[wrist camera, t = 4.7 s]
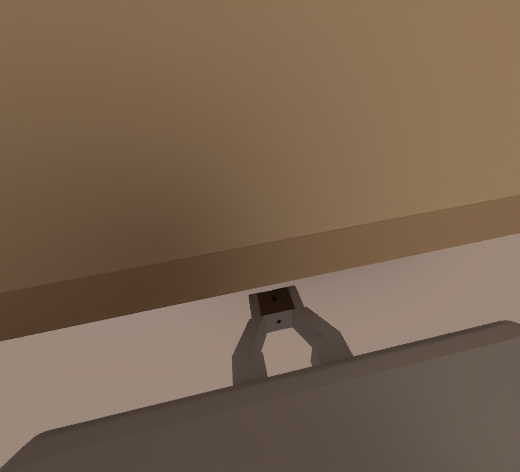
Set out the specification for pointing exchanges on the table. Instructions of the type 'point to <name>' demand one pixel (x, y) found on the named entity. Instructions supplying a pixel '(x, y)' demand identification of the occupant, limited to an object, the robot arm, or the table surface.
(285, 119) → the flap
